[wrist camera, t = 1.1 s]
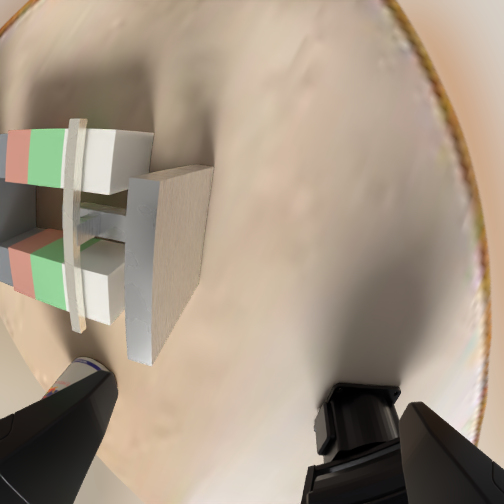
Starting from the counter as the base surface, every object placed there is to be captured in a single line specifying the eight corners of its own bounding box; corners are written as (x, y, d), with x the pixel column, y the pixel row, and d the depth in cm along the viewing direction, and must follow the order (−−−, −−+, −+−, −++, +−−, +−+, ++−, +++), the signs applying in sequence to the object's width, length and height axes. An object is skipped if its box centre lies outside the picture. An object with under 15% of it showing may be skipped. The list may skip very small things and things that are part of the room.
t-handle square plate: (219, 132, 18) (169, 117, 9) (195, 311, 22) (153, 398, 13) (94, 122, 18) (-1, 119, 9) (87, 283, 22) (17, 343, 13)
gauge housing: (154, 132, 18) (116, 129, 13) (141, 290, 22) (110, 325, 17) (29, 130, 18) (-15, 132, 14) (29, 259, 22) (-8, 280, 17)
